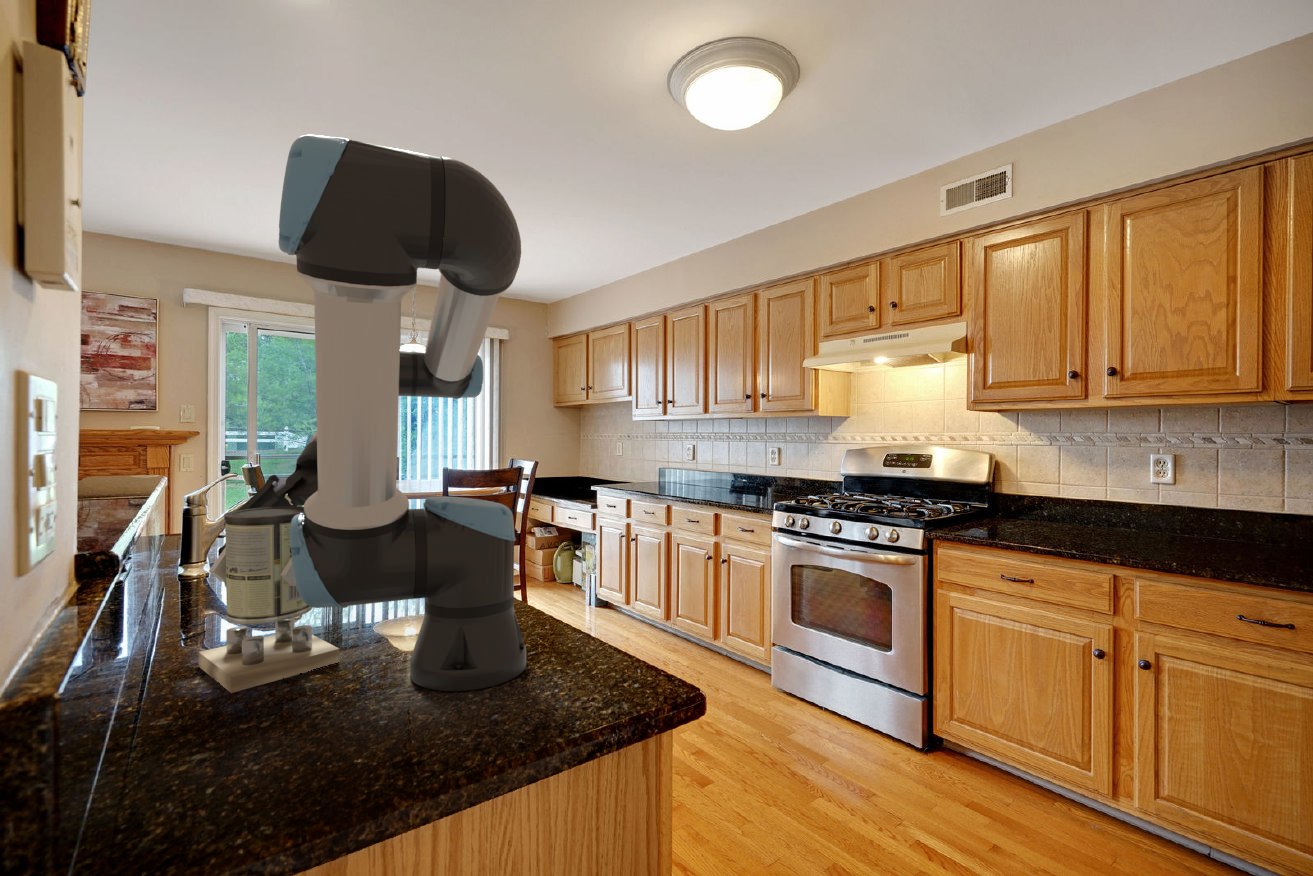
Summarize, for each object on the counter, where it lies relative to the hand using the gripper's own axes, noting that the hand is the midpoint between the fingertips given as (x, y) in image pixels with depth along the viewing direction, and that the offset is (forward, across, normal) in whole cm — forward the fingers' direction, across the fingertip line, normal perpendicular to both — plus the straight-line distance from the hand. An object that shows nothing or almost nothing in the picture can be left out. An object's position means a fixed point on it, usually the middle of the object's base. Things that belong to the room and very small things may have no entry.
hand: (252, 578), depth 83 cm
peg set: (+6, 0, -9) cm, 11 cm away
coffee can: (+2, 0, -6) cm, 6 cm away
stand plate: (+7, 0, -11) cm, 13 cm away
